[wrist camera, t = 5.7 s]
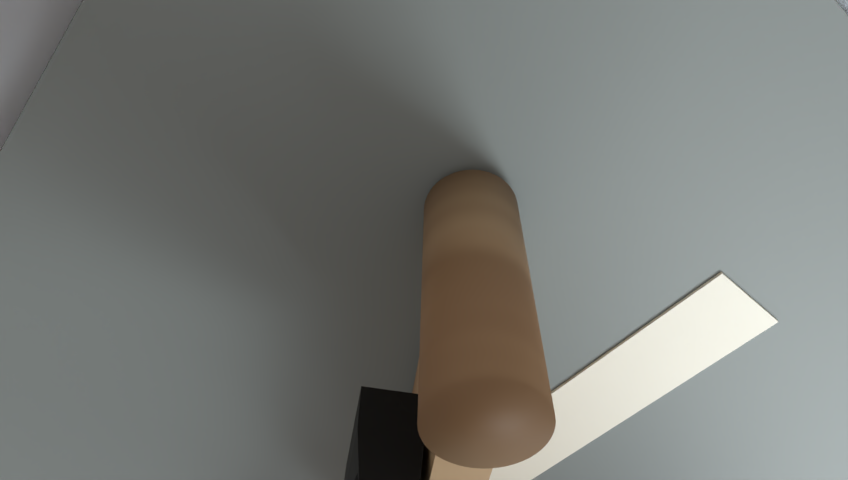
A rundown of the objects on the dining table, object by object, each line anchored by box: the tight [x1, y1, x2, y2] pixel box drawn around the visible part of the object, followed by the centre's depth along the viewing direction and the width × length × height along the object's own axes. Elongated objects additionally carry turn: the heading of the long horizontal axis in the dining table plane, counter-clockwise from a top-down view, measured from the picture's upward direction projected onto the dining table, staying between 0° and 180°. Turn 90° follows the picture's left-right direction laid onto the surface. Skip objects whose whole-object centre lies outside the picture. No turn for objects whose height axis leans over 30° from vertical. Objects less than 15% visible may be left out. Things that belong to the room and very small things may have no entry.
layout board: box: [0, 0, 848, 480], centre depth 16 cm, size 22×21×1 cm
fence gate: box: [412, 170, 556, 480], centre depth 12 cm, size 10×2×5 cm, turn 172°
